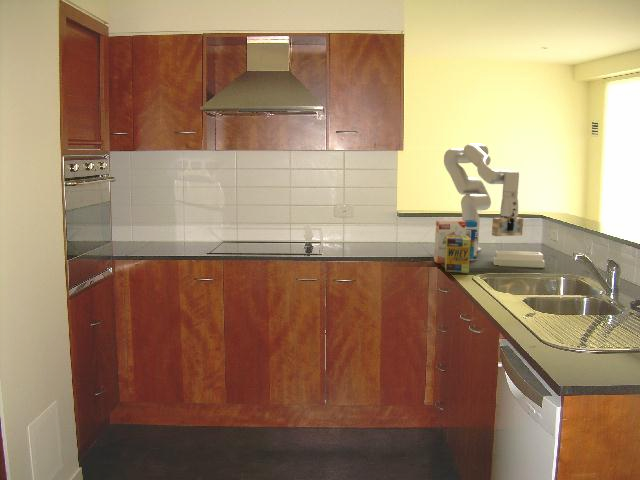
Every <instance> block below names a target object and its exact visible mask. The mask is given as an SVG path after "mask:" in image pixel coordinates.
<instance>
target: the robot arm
mask: <svg viewBox="0 0 640 480" xmlns="http://www.w3.org/2000/svg"><path fill="white" fill-rule="evenodd" d="M491 161H492V160H491V157H490V155H489V148H488V146H487V145H486V144H483V143H467V144H466V145H465V146H464V147H459V148H458V147H455V148H454V147H453V148H449V149H448V150H446V151H445V152H444V156H443V164H444V167H445V169H446V171H447V173H448V174H449V176H450V178H451V180H452V182H453V186H454V187H455V189H456V191H457V192H458V194H460V195H464V196H462V198H461V200H460V206H461V221H464V220H475V221H477V227H476V230H477V232H478V236H477V237H478V245H479V240H480V239H479V238H480V215H479V212H480V211H486V210H489V208H490V207H491V204H492V200H491V197H490V194H489V193H488V190H487V189H486V186H485V185H484V182H486V183H487V184H490V185H502V193H501V194H502V196H501V204H500V213H499V215H500V218H508V220H509V223H508V227H507V230H508V231H513V228H514V223H515V220H516V219H517V217H519V198H518V195H519V184H520V183H519V182H520V173H519V171H517V170H507V169H492V168H491V167H489V166H490V163H491ZM471 163H472V164H473V166H475V167H476V168H477V170H476V171H477V173H478V176H479V177H480V178H481V179H482V180H483V181H484V182H483V181H482V180H481V179H480V178H477V177H469V176H468V174H467V172H466V170H465V169H464V168H463V166H461V165H460V164H471ZM478 211H479V212H478ZM511 218H512V219H511ZM481 251H482V248H481V247H479V246H478V247H477V252H481Z"/></svg>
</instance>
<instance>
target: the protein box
mask: <svg viewBox="0 0 640 480" xmlns="http://www.w3.org/2000/svg"><path fill="white" fill-rule="evenodd" d="M444 268H445V272H446V273H456V274H457V273H459V274H469V273H470V238H469V236H465V235H446V251H445V263H444Z"/></svg>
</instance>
